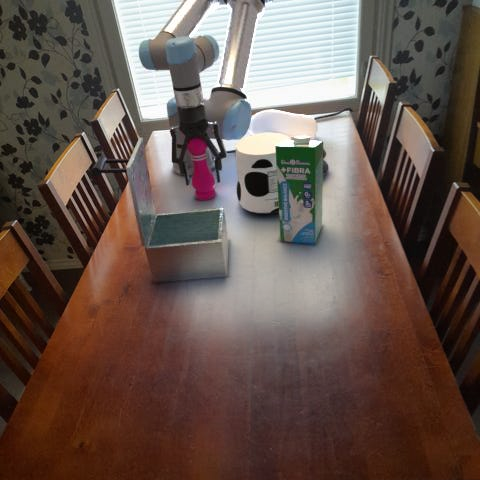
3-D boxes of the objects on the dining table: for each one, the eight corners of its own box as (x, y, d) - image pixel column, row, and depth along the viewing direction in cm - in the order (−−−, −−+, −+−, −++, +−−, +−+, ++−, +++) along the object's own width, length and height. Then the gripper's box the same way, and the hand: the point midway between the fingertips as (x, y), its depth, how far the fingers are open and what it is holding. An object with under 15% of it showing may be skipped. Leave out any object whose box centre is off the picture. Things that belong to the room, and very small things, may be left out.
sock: (318, 108, 163) (320, 128, 155) (315, 134, 171) (317, 154, 163) (249, 108, 165) (247, 127, 156) (249, 134, 172) (247, 153, 164)
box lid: (142, 137, 102) (100, 138, 102) (130, 167, 91) (82, 168, 91) (155, 212, 115) (117, 212, 115) (145, 246, 103) (103, 247, 103)
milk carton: (322, 226, 121) (323, 130, 104) (314, 244, 115) (315, 146, 98) (289, 223, 124) (285, 130, 107) (280, 241, 117) (275, 145, 101)
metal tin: (228, 240, 120) (223, 207, 114) (227, 276, 109) (221, 241, 102) (162, 246, 122) (154, 213, 115) (154, 282, 110) (144, 248, 103)
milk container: (254, 187, 142) (249, 128, 129) (306, 194, 134) (305, 133, 122) (228, 214, 131) (219, 153, 119) (283, 223, 124) (280, 159, 112)
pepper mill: (194, 191, 144) (181, 127, 131) (216, 188, 144) (206, 124, 130) (194, 202, 139) (181, 136, 125) (217, 199, 138) (207, 132, 125)
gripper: (149, 113, 121) (167, 191, 136) (229, 104, 120) (238, 184, 135) (153, 104, 127) (170, 180, 142) (229, 95, 125) (238, 173, 140)
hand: (203, 182), depth 138 cm, fingers open, 9 cm apart
